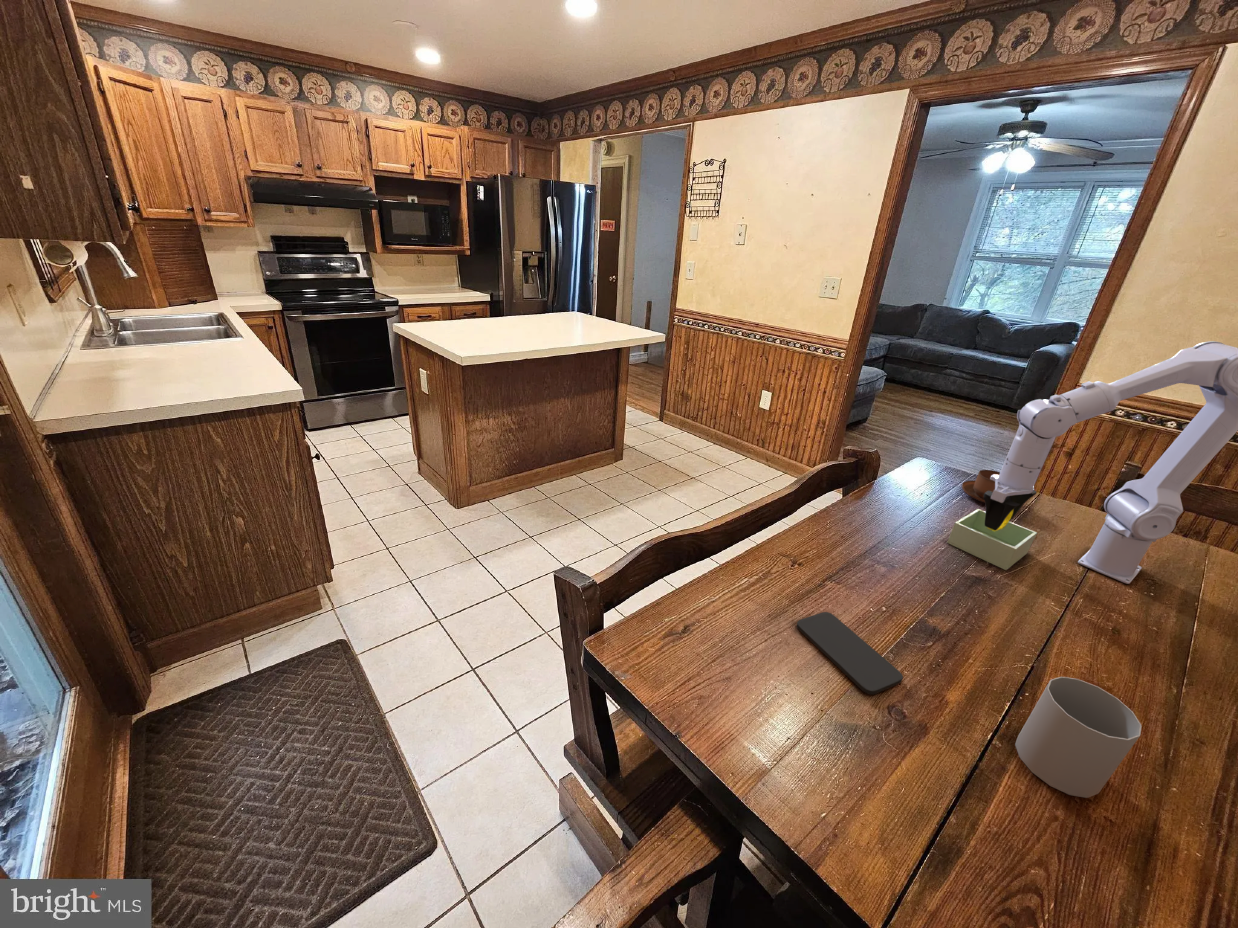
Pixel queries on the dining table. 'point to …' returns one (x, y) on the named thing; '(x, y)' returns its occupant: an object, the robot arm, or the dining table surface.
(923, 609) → the dining table surface
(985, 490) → the cup and saucer
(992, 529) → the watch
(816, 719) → the dining table surface
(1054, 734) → the cup
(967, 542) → the bin
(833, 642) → the phone
